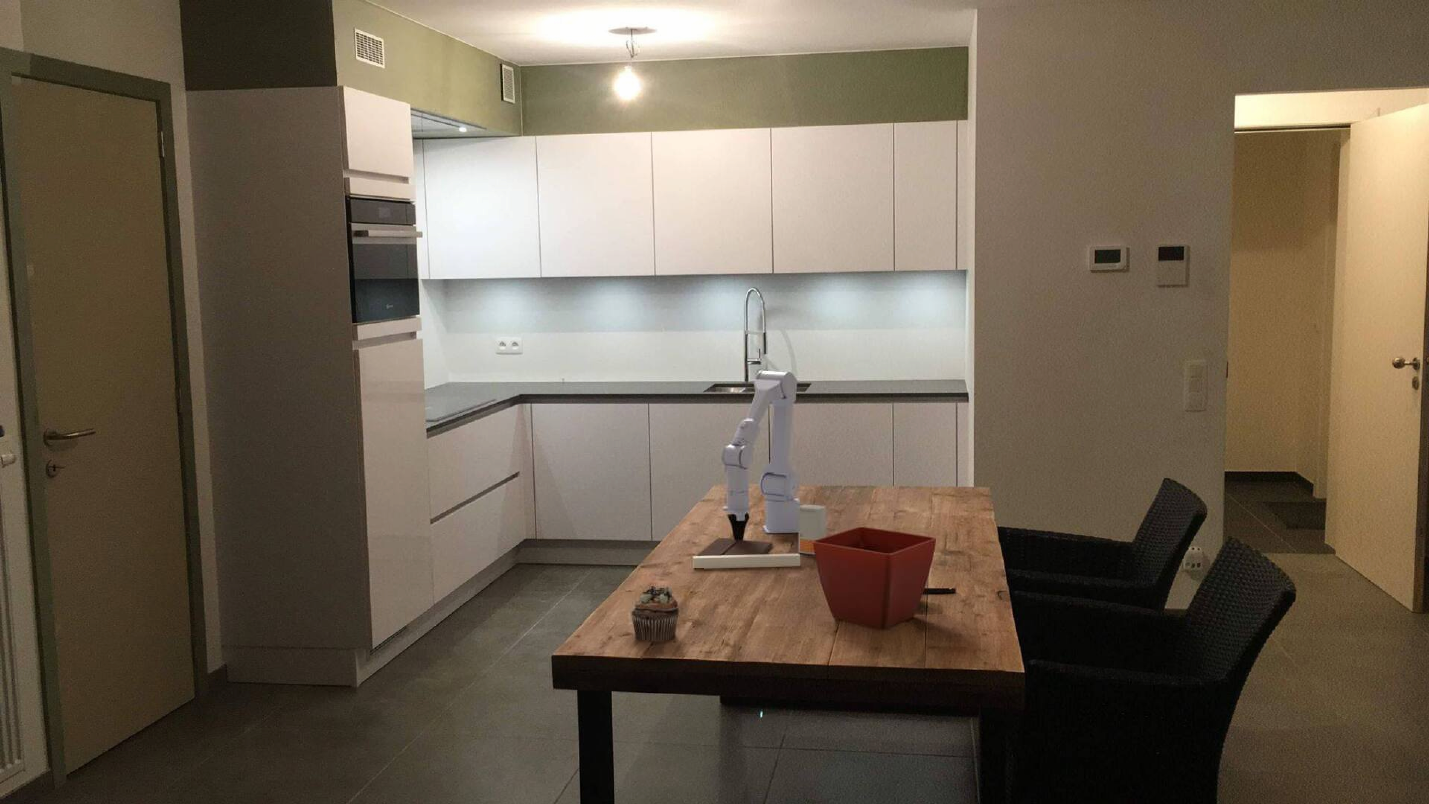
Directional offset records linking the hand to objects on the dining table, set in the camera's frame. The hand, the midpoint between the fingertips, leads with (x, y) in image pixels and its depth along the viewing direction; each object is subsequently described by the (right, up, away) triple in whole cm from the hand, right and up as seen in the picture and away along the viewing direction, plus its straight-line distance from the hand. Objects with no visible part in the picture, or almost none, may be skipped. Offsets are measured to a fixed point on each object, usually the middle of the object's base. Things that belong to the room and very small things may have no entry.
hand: (738, 541), depth 326 cm
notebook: (-1, -3, -10) cm, 11 cm away
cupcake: (-18, -11, -77) cm, 80 cm away
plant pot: (+27, -9, -66) cm, 72 cm away
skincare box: (+18, -2, -10) cm, 21 cm away
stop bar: (+1, -4, -23) cm, 23 cm away
